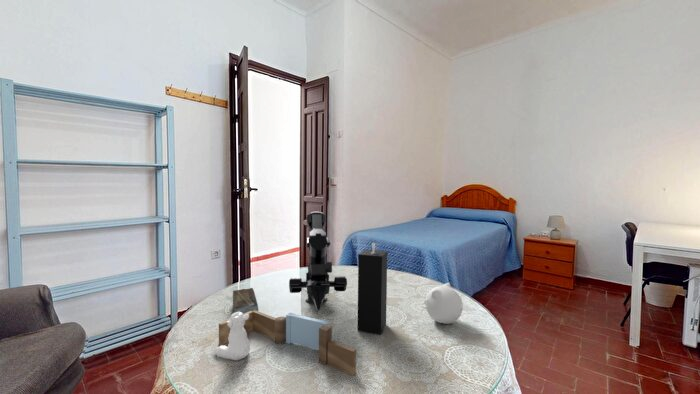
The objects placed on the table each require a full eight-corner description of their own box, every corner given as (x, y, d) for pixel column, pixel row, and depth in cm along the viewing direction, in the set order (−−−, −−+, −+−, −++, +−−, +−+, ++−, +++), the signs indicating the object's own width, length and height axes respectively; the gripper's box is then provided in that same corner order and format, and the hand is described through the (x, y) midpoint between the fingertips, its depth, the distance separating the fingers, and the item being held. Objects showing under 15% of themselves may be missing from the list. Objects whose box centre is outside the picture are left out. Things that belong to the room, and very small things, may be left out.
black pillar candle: (386, 324, 101) (387, 241, 100) (381, 335, 94) (382, 245, 93) (363, 320, 104) (365, 239, 103) (357, 331, 96) (358, 243, 95)
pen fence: (257, 326, 99) (257, 299, 99) (360, 369, 76) (360, 334, 76) (218, 343, 88) (218, 313, 87) (326, 400, 65) (326, 359, 65)
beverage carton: (234, 326, 99) (234, 306, 99) (232, 305, 117) (232, 289, 116) (258, 322, 102) (258, 303, 102) (253, 302, 120) (253, 286, 119)
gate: (286, 342, 88) (286, 314, 88) (289, 339, 90) (289, 312, 89) (325, 353, 82) (325, 324, 82) (328, 350, 84) (329, 321, 84)
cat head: (453, 336, 93) (454, 297, 93) (416, 323, 102) (416, 287, 102) (471, 321, 105) (472, 286, 104) (436, 310, 113) (437, 278, 113)
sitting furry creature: (246, 342, 89) (246, 302, 88) (261, 354, 83) (261, 310, 82) (213, 354, 82) (213, 311, 82) (226, 368, 76) (226, 321, 76)
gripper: (289, 253, 98) (286, 300, 87) (346, 252, 100) (350, 297, 90) (291, 270, 106) (288, 315, 96) (343, 269, 108) (347, 312, 98)
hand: (318, 310), depth 95 cm, fingers closed
